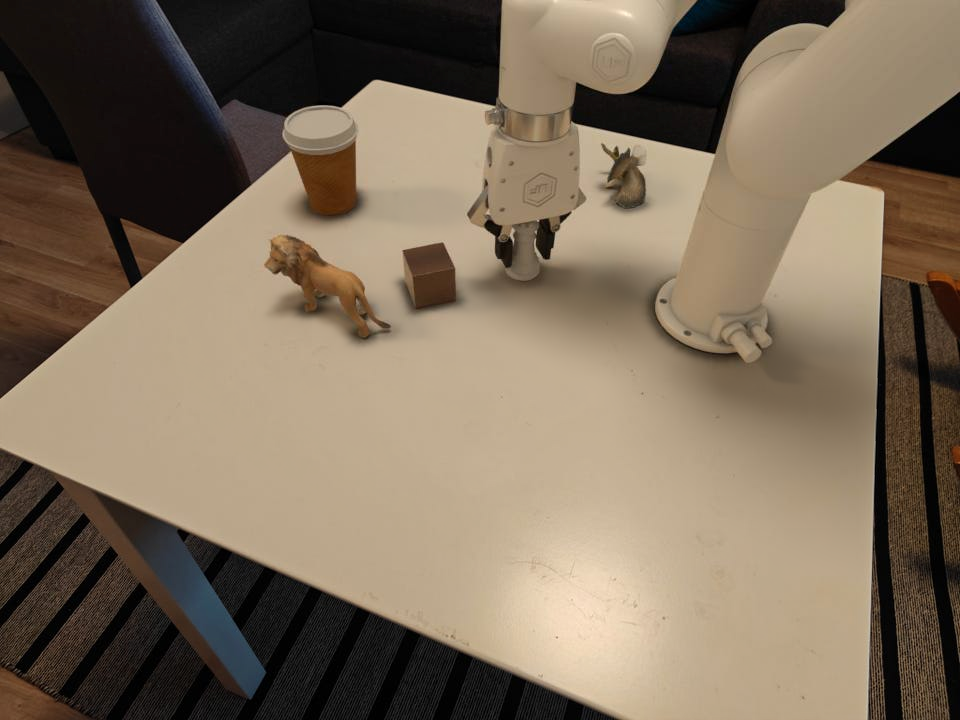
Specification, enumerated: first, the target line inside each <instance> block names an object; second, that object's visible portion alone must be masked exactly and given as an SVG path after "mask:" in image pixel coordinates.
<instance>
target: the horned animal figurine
mask: <svg viewBox="0 0 960 720" xmlns="http://www.w3.org/2000/svg"><path fill="white" fill-rule="evenodd" d="M600 146H601V149H602V150H603V152H604V153H605V154H606V155H608V156H609V157H610V158H611V159H612V160H613V165H612V166H611V168H610V171H609V174H608V176H607V178H606V179H607V180H606V181H607V182H606V185H605V186H604V188H605V189H607V188H609V187H612V186H614V185H615V184H616V183H617V182H618V181H621V182H622V184H621V189H620V192H619V193H618V195H617V197H616V200H615V203H616V204H618V206H619V207H622V208H623V209H631V208H635V207H636V206H639V205H640V204H642V203H643V202H644V200H645V198H646V195H647V193H646V192H647V188H646V187H647V186H646V185H647V184H646V178H645V176H644V174H643V172H641V170H640V169H639V167H642V166H645V164H646V162H647V149H646V147H644V146H643V145H641V144H635V145H634V146H633V149H632V152H631V148H630V147H627V149H626V150H625V151H624V152H621V153H620V151H619V150H620V149H619V146H618V145H616V146H615V147H614V148H613V151H611V150H610V149H609V148H608V147H607V146H606V145H605V143H603V142H601V143H600Z"/></svg>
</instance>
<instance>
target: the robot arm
mask: <svg viewBox="0 0 960 720" xmlns="http://www.w3.org/2000/svg"><path fill="white" fill-rule="evenodd" d="M697 1H698V0H501V16H500V17H501V19H500V44H499V45H500V48H499V54H500V55H499V77H498V78H499V79H498V81H499V82H498V96H497V97H496V104H495V107H493V108H491V109H488V110H485V111H484V120H485V124H486V125H492V127H491V129H490V134H489V136H488V140H487V146H486V151H485V157H484V164H483V173H482V185H481V192H480V194H479V195H478V197H477V198H476V200H475V201H474V202H473V204H472V206H471V207H470V208H469V210H468V211H467V214H466V216H467V218H468V221H469V222H470V224H472V225H475V226H477V227H479V228H483V229H485V230H486V231H487V232H488V233H490V234H491V235H492V236H494V254H495V256H496V259H497V260H500V261H501V263H502V265H503V266H504V267H505V268H510V266H512V253H513V244H514V240H513V239H512V237H511V233H512V229H513V228H512V226H513V225H514V224H519V223H525V222H530V221H535V220H537V221H538V223H539V228H538V230H536V239H535V243H534V246H535V248H536V249H537V252H538V253H539V254H540V256H541V258H542V259H543V260H544V261H548V260H551V254H552V249H554V246H555V240H556V233H557V232H559V231H560V230H561V224H562V223H563V222H565V221H566V220H567V218H568V217H570V215H572V212H573V211H575V210H576V209H577V208H579V207H580V206H582V205H583V204H584V203H585V202H586V201H587V196H586V194H585V193H584V192H583V191H582V189H581V188H580V175H581V174H580V173H581V147H580V134H579V133H580V132H579V128H578V126H577V124H575V123H574V122H573V113H574V106H575V105H574V103H575V96H576V88H577V83H578V84H580V85H583V86H584V87H588V88H590V89H592V90H596V91H599V92H602V93H606V94H612V95H623V94H628V93H633V92H635V91H637V90H639V89H640V88H642V87H643V86H644V85H646V84H647V83H648V82H649V81H650V80H651V78H652V77H653V75H654V74H655V72H656V71H657V69H658V68H659V65H660V62H661V59H662V57H663V55H664V52H665V49H666V47H667V44H668V42H669V40H670V37H671V34H672V32H673V30H674V28H675V27H676V26H677V25H678V24H679V22H680V21H681V20H682V19H683V17H684V16H685V15H686V14H687V13H688V12H689V11H690V9H691V8H692V7H693V6H694V5H695V4H696V2H697ZM735 78H736V79H735V82H734V84H733V88H732V91H731V96H730V99H729V102H728V107H727V111H726V115H725V117H724V123H723V125H722V129H721V133H720V136H719V140H718V143H717V147H716V150H715V153H714V157H713V160H712V164H711V167H710V170H709V173H708V176H707V180H706V183H705V186H704V190H703V192H702V195H701V198H700V201H699V203H698V207H697V211H696V213H695V217H694V221H693V224H692V228H691V230H690V234H689V237H688V240H687V243H686V246H685V250H684V253H683V257H682V260H681V262H680V265H679V266H680V267H679V269H678V273H677V275H676V277H673V278H672V279H669V280H668V281H667V282H666V283H663V285H662V287H660V289H659V290H658V292H657V295H656V299H655V302H654V312H655V315H656V318H657V320H658V321H659V323H660V326H661V327H662V328H663V329H664V330H665V331H666V332H667V333H669V335H670V336H672V337H673V338H674V339H675V340H678V342H681V343H683V344H684V345H686V346H689V347H691V348H693V349H696V350H700V351H703V352H707V353H714V354H731V353H737V354H738V355H739V357H741V359H742V360H743V361H744V362H745V363H746V364H751V363H754V362H755V361H756V360H758V359H759V358H760V357H761V356H762V352H763V351H762V350H761V349H760V348H762V349H766V348H768V347H769V346H771V345H772V344H773V340H774V339H772V337H771V336H770V335H769V334H768V333H767V332H766V329H767V327H768V320H769V319H768V313H767V311H768V309H767V308H766V307H765V306H764V304H763V301H764V299H765V297H766V294H767V292H768V290H769V288H770V286H771V284H772V282H773V279H774V277H775V275H776V272H777V270H778V268H779V266H780V263H781V262H782V259H783V257H784V254H785V252H786V250H787V248H788V246H789V243H790V242H791V239H792V237H793V235H794V233H795V230H796V228H797V226H798V224H799V222H800V220H801V218H802V216H803V214H804V211H805V210H806V207H807V205H808V203H809V200H810V198H811V196H812V194H814V193H816V192H819V191H822V190H823V189H825V188H827V187H829V186H831V185H833V184H834V183H836V182H838V181H839V180H841V179H842V178H844V177H846V175H848V174H850V173H852V172H853V170H855V169H857V168H859V167H860V166H861V165H862V164H863V163H866V162H867V160H869V159H871V158H872V157H873V156H875V155H876V154H877V153H879V152H881V150H883V149H884V148H886V147H887V146H889V145H890V144H891V143H892V142H894V141H895V140H897V139H898V138H899V137H901V136H902V135H904V134H905V133H906V132H908V131H909V130H911V128H913V127H914V126H916V125H917V124H918V123H919V122H921V121H923V120H924V119H925V118H926V117H928V116H929V115H930V114H932V113H933V112H935V111H936V110H937V109H938V108H940V107H942V106H943V105H944V104H946V103H947V102H948V101H949V100H951V99H952V98H953V97H955V96H956V95H957V94H958V93H960V0H845V1H844V11H843V12H842V13H841V14H840V15H839V16H838V17H837V18H836V19H835V20H834V21H833V22H832V23H831V24H830V25H829V26H828V27H827V26H824V25H821V24H817V23H807V22H805V23H797V24H790V25H788V26H785V27H783V28H780V29H778V30H776V31H773V32H772V33H771V34H769V35H768V36H766V37H764V39H762V40H761V41H760V42H759V43H758V44H756V46H755V47H754V48H752V51H750V52H749V54H748V55H747V57H746V58H745V60H744V62H743V63H742V65H741V67H740V69H739V71H738V73H737V76H736V77H735ZM487 212H489V214H486V213H487ZM505 268H504V269H505ZM757 344H758V345H759V346H760V348H759V347H758V345H757Z"/></svg>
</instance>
